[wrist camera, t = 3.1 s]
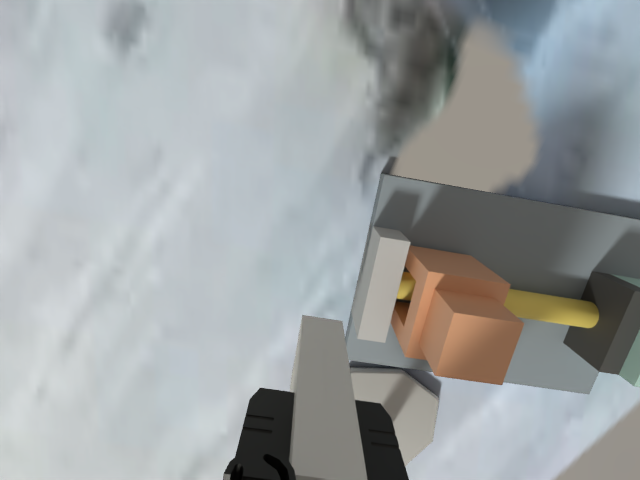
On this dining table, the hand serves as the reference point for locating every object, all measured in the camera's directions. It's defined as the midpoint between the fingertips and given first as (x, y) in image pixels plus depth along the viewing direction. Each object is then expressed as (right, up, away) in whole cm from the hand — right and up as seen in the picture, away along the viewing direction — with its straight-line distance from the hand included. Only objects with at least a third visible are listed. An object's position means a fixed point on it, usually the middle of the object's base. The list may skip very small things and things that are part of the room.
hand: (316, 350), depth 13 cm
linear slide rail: (+11, +1, +10) cm, 15 cm away
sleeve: (+7, +1, +8) cm, 11 cm away
